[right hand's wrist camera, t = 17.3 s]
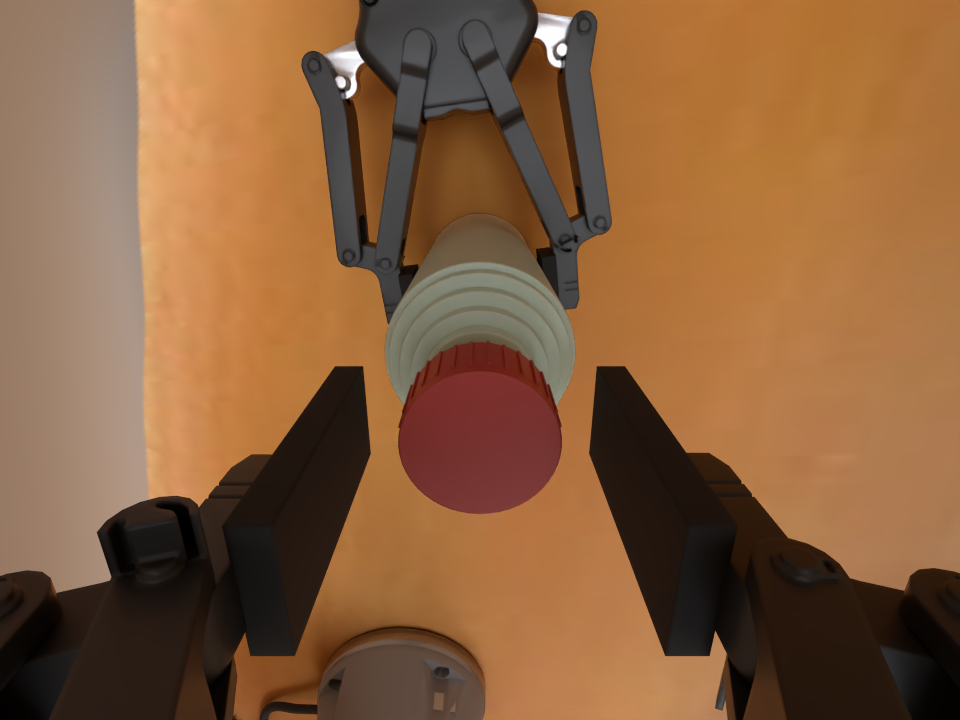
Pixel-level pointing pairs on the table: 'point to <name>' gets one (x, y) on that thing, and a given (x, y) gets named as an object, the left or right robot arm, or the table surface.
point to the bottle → (480, 304)
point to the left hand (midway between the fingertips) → (490, 370)
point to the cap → (480, 429)
